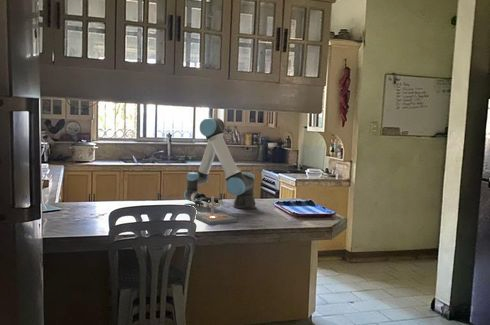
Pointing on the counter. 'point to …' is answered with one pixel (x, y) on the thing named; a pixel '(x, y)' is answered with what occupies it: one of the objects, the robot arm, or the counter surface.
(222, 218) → the plate
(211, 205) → the pipe connector
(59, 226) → the counter surface
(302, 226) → the counter surface
